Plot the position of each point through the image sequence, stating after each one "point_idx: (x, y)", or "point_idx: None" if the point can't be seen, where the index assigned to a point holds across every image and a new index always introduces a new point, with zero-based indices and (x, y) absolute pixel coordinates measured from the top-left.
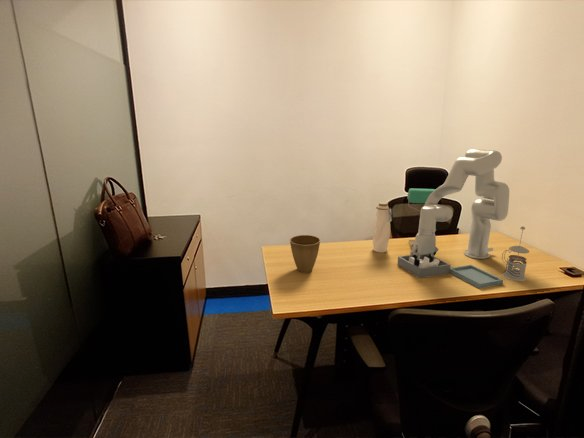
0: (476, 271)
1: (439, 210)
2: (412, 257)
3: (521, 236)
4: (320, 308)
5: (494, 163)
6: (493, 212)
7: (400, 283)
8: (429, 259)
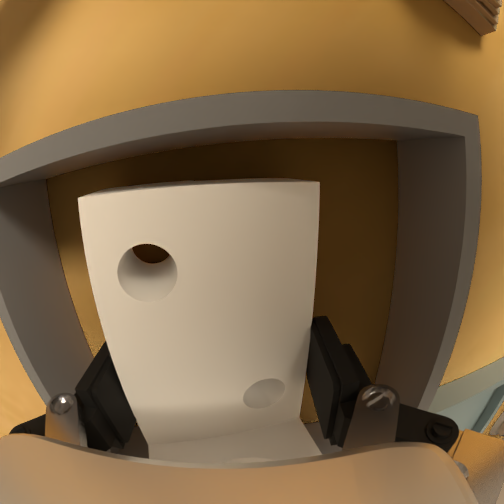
0: (479, 410)
1: None
2: (127, 209)
3: None
4: None
5: None
6: None
7: (26, 416)
8: (322, 398)
